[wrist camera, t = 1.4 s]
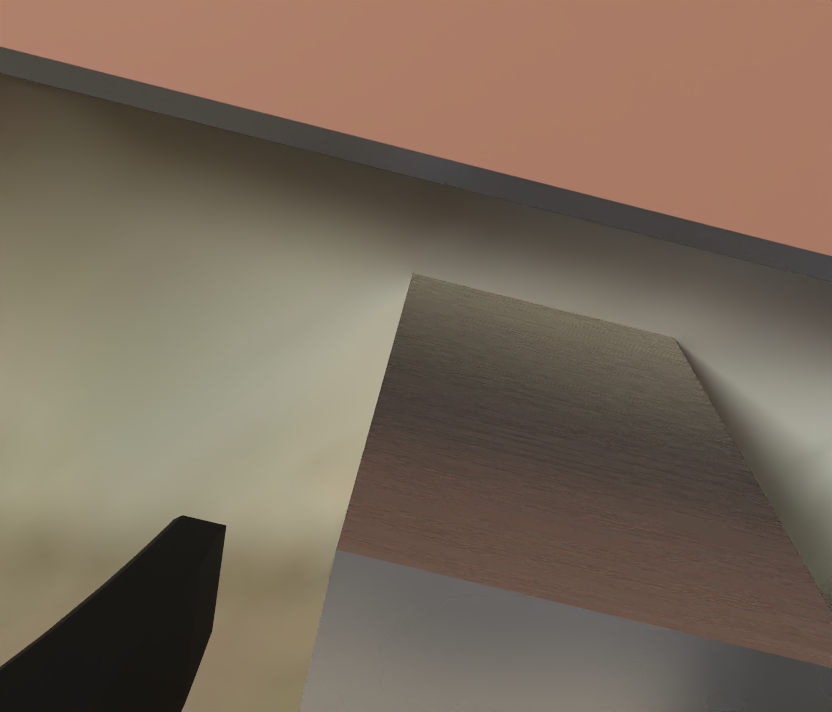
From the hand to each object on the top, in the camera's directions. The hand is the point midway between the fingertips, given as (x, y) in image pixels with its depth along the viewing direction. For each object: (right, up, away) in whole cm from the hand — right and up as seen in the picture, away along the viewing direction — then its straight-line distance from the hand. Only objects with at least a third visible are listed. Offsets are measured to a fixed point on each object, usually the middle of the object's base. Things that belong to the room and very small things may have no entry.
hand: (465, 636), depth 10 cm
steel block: (0, +1, +2) cm, 3 cm away
